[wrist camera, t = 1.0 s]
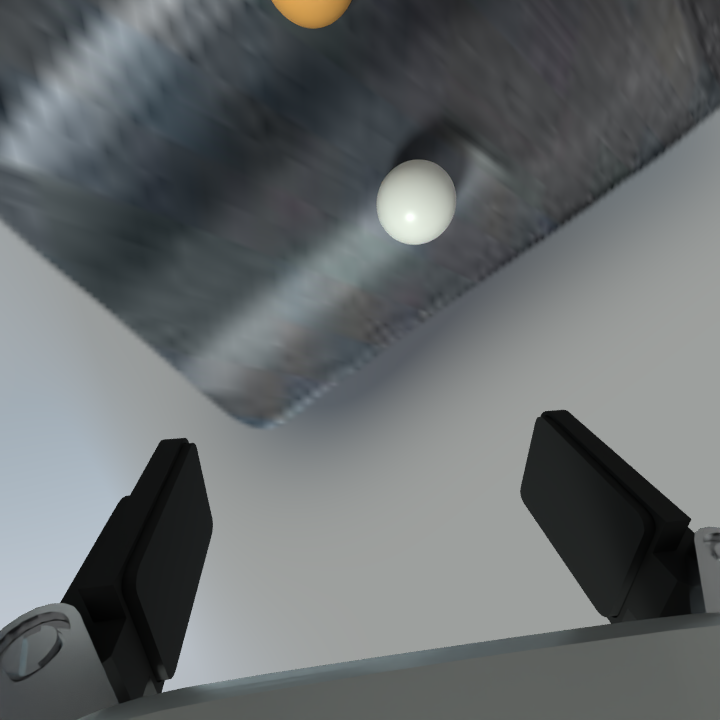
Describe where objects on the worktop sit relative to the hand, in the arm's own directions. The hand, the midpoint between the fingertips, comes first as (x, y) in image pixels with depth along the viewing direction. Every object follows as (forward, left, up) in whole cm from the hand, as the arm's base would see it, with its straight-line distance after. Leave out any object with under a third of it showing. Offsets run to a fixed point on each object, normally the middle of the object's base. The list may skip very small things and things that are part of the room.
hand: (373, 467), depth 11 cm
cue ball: (-8, -2, -20) cm, 22 cm away
